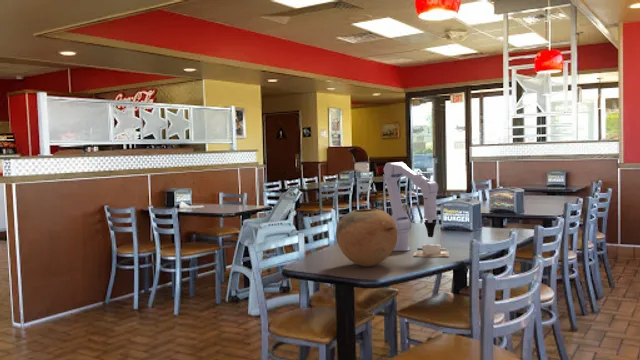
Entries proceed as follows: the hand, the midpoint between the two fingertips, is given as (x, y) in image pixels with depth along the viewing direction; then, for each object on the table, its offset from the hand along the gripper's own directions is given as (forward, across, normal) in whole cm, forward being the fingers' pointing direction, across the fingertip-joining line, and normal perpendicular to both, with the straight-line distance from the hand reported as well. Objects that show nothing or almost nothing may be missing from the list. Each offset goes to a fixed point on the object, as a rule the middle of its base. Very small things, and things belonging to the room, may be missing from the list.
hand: (430, 235), depth 264 cm
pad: (+9, 0, 0) cm, 9 cm away
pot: (+9, -25, +27) cm, 38 cm away
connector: (+8, 0, 0) cm, 8 cm away
